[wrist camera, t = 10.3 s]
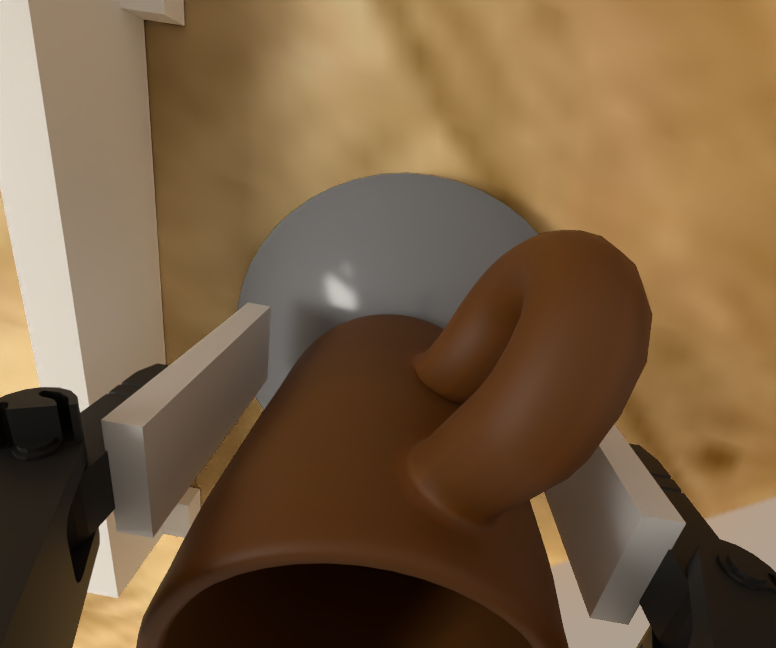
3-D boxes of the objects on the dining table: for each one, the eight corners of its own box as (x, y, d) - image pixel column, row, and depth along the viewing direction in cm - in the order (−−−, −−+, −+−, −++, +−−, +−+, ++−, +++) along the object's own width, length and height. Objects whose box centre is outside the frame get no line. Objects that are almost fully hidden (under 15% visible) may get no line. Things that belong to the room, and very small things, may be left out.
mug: (399, 138, 12) (339, 75, 3) (615, 255, 13) (1023, 453, 4) (263, 433, 16) (82, 739, 8) (431, 508, 17) (439, 865, 8)
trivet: (243, 444, 18) (235, 456, 17) (248, 145, 13) (238, 144, 13) (518, 492, 18) (522, 507, 17) (618, 204, 13) (630, 207, 12)
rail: (119, 506, 20) (50, 585, 16) (42, -81, 12) (-138, -196, 8) (200, 520, 20) (149, 603, 16) (181, -59, 11) (65, -165, 8)
